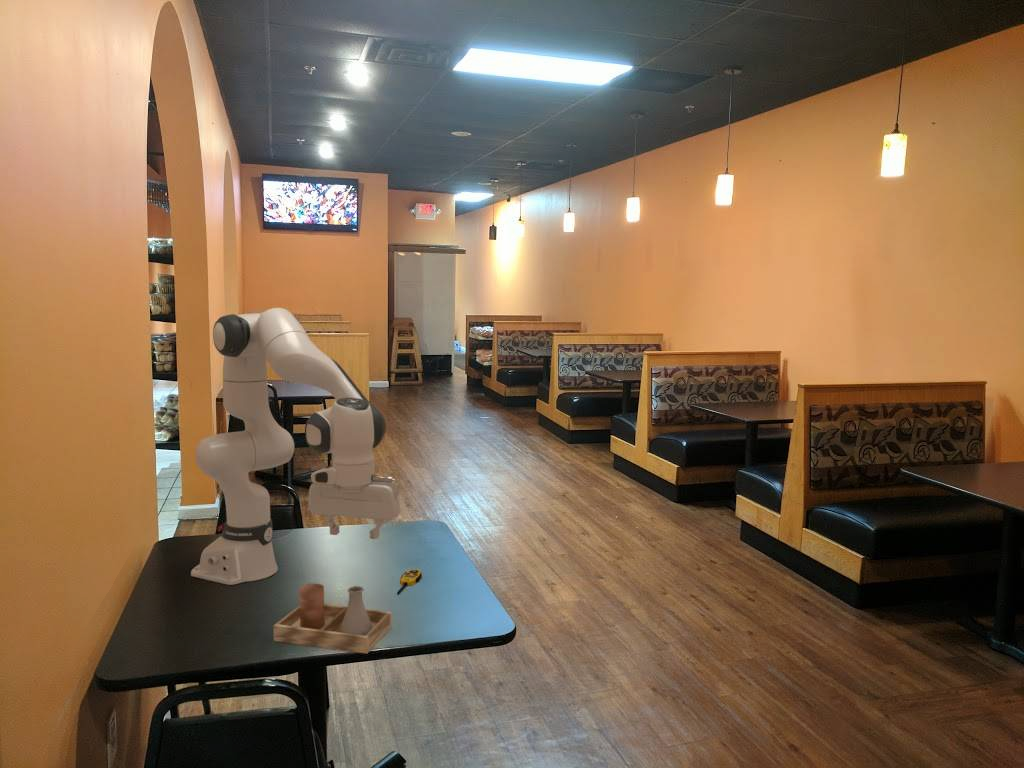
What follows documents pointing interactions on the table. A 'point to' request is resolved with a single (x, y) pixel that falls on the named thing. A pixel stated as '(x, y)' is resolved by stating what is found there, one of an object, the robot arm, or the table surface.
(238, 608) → the table surface
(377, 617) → the condiment caddy
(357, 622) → the flask
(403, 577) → the yellow walkie talkie
